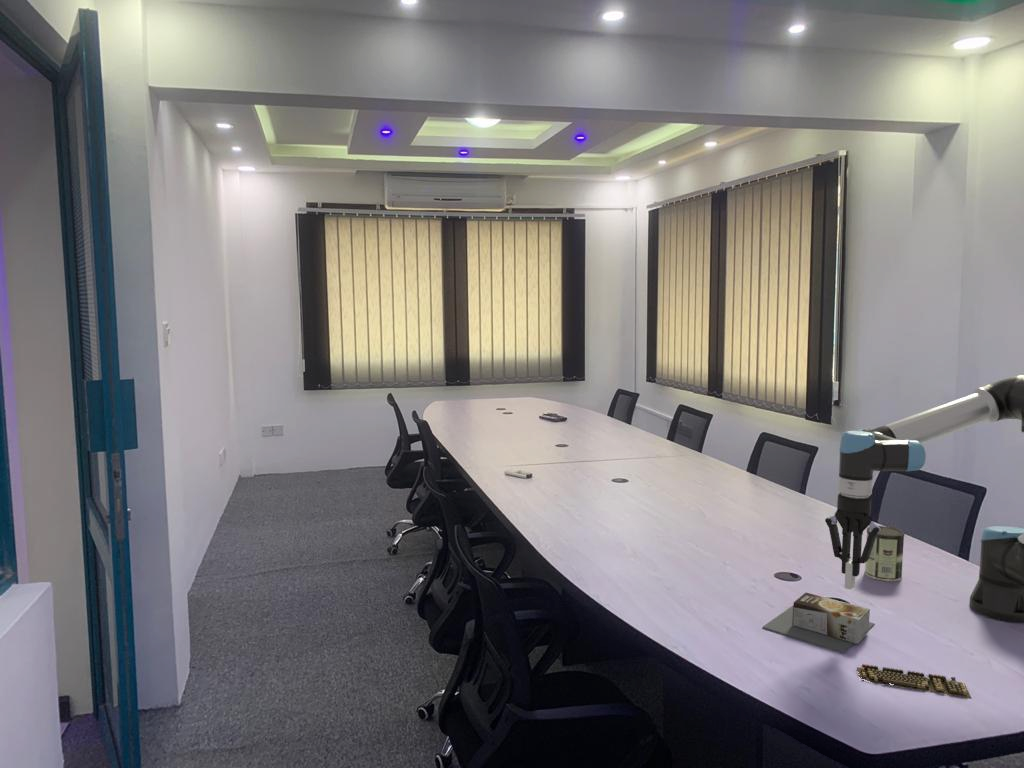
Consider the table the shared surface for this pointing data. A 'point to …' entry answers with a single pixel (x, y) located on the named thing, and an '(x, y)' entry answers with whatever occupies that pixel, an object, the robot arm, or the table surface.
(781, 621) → the topple mat
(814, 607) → the coffee box
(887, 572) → the coffee can
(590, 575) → the table surface
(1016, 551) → the robot arm
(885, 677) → the keyboard
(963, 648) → the table surface
